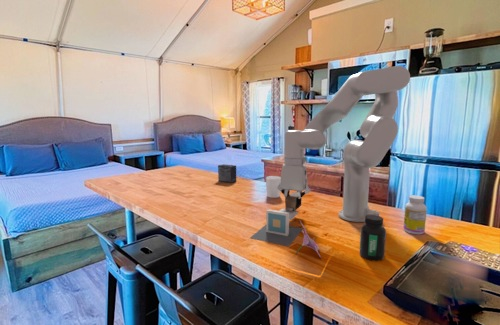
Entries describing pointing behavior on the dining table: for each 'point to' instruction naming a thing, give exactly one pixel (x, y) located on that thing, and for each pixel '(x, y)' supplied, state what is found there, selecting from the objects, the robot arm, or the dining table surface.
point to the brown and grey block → (291, 205)
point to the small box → (227, 173)
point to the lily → (309, 242)
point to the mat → (277, 236)
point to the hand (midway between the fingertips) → (293, 206)
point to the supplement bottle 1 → (373, 238)
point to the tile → (277, 222)
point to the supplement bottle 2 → (415, 215)
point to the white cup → (273, 186)
